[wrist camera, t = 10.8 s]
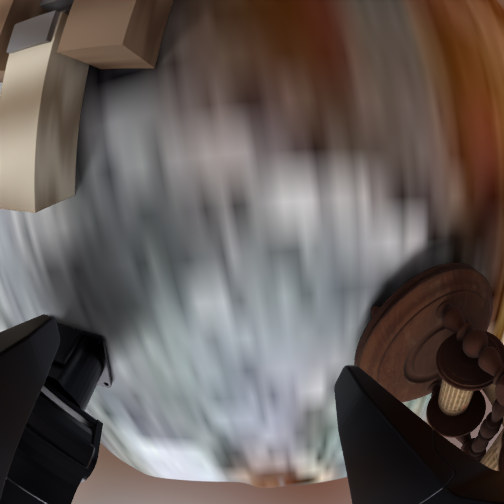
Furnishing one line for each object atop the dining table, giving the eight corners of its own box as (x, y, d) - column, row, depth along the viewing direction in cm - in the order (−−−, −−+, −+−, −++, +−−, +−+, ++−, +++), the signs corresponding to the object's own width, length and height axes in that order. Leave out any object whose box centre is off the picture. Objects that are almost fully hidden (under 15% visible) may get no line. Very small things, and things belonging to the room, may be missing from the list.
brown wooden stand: (469, 351, 25) (553, 473, 6) (356, 403, 26) (408, 568, 8) (482, 234, 20) (644, 360, 1) (337, 291, 21) (462, 564, 2)
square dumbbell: (154, 68, 15) (122, 44, 10) (6, 82, 13) (-39, 80, 8) (179, -17, 12) (161, -59, 7) (28, 9, 11) (-10, -6, 6)
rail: (75, 194, 18) (30, 215, 13) (37, 191, 17) (-10, 210, 12) (99, 28, 13) (60, 3, 8) (57, 36, 13) (14, 19, 8)
